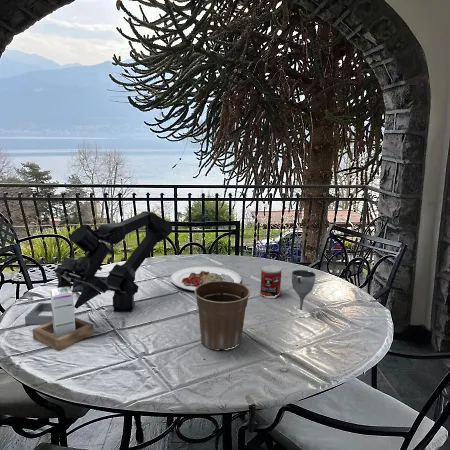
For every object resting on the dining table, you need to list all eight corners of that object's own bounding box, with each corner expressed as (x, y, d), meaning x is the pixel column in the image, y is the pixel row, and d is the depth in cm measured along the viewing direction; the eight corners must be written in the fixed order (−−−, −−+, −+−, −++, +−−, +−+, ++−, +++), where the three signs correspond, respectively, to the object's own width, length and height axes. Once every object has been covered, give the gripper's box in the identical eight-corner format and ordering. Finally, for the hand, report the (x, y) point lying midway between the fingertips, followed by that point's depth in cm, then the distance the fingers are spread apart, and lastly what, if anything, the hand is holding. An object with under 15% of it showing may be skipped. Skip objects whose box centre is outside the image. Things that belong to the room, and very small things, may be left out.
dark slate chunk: (126, 293, 151) (125, 281, 150) (68, 293, 150) (67, 281, 149) (132, 279, 166) (132, 269, 165) (80, 279, 165) (79, 268, 164)
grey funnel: (314, 311, 139) (317, 271, 135) (309, 320, 132) (312, 278, 128) (292, 307, 142) (295, 268, 139) (286, 315, 135) (289, 274, 132)
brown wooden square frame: (68, 323, 125) (67, 314, 124) (93, 333, 118) (93, 324, 118) (33, 338, 115) (32, 329, 114) (59, 350, 108) (58, 340, 108)
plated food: (253, 279, 171) (254, 272, 170) (215, 301, 146) (215, 293, 145) (198, 266, 186) (198, 259, 185) (155, 284, 161) (155, 276, 161)
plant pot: (229, 362, 105) (231, 306, 102) (182, 344, 114) (183, 292, 110) (257, 337, 119) (259, 288, 116) (213, 323, 127) (214, 277, 124)
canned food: (257, 296, 151) (259, 269, 148) (263, 290, 158) (264, 264, 156) (276, 300, 148) (278, 272, 145) (282, 293, 155) (283, 266, 153)
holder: (72, 309, 134) (71, 303, 134) (61, 324, 124) (60, 317, 123) (39, 309, 134) (39, 302, 133) (25, 324, 123) (24, 317, 122)
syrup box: (76, 337, 116) (74, 292, 113) (55, 342, 113) (51, 295, 110) (73, 329, 121) (70, 285, 117) (52, 333, 118) (49, 288, 115)
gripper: (57, 241, 121) (26, 285, 114) (98, 251, 111) (67, 300, 105) (80, 259, 129) (52, 301, 122) (120, 270, 120) (92, 316, 113)
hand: (65, 304), depth 115 cm, fingers open, 9 cm apart
